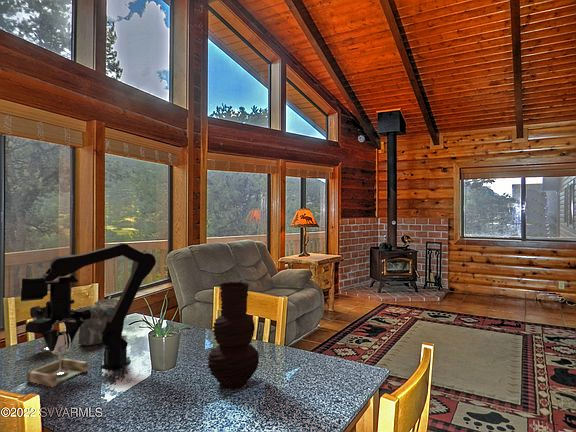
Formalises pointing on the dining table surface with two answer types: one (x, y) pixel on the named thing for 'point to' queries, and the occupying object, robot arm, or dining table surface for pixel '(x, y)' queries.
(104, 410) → the dining table surface
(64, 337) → the wineglass
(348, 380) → the dining table surface
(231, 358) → the vase
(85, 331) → the rock
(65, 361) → the u rest
